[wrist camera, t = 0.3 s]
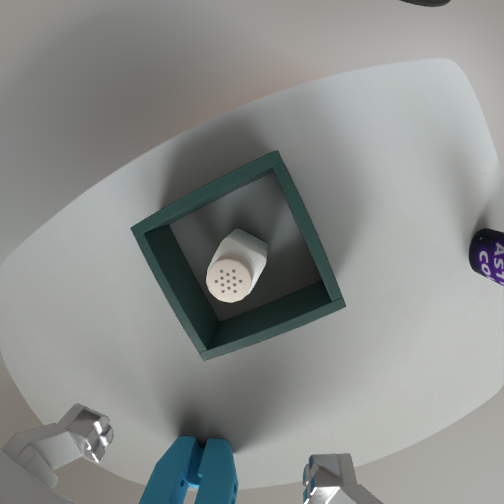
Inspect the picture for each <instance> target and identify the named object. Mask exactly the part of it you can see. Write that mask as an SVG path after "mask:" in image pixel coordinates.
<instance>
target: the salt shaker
mask: <svg viewBox="0 0 504 504" xmlns="http://www.w3.org/2000/svg"><path fill="white" fill-rule="evenodd" d="M267 254H268V245H267V244H266V243H265V242H263V241H261V240H259V239H258V238H256V237H254V236H252V235H250V234H248V233H246V232H244V231H242V230H241V229H235V230H233V231H232V232H231V233H230V234H229V235H228V236H227V237H225V238H224V239H223V240H222V241H221V243H220V245H219V247H218V249H217V251H216V253H215V255H214V257H213V259H212V261H211V263H210V265H209V267H208V269H207V278H206V283H207V286H208V288H209V291H210V293H212V294H213V295H214V296H215V297H216V298H217V299H218V300H221V301H225V302H229V303H231V302H235V301H239V300H242V299H243V298H244V297H245V296H246V295H248V294H249V293H250V292H251V290H252V289H253V287H254V285H255V284H256V282H257V280H258V278H259V276H260V275H261V273H262V271H263V269H264V267H265V265H266V261H267Z"/></svg>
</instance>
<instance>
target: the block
mask: <svg viewBox="0 0 504 504" xmlns="http://www.w3.org/2000/svg"><path fill="white" fill-rule="evenodd" d="M188 486H189V487H196V488H199V489H198V493H197V497H196V500H195V504H235V502H236V496H237V490H238V480H237V475H236V469H235V464H234V459H233V453H232V450H231V446H230V443H229V442H228V441H227V440H224V439H211V438H209V439H208V440H207V443H206V447H205V449H202V448H200V447H199V445H198V443H197V440H196V438H195V437H189V436H179V437H178V438H177V439H176V441H175V442H174V443H173V444H172V446H171V447H170V448H169V449H168V450H167V452H166V453H165V454H164V455H163V456H162V458H161V459H160V460H159V461H158V462H157V463H156V466H155V468H154V470H153V472H152V475H151V477H150V479H149V481H148V484H147V486H146V488H145V491H144V493H143V495H142V497H141V500H140V502H139V504H183V501H184V498H185V495H186V492H187V489H188Z"/></svg>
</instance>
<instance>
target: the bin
mask: <svg viewBox="0 0 504 504" xmlns="http://www.w3.org/2000/svg"><path fill="white" fill-rule="evenodd" d="M272 172H273V174H274V176H275V179H276V181H277V183H278V185H279V187H280V189H281V191H282V193H283V195H284V197H285V199H286V202H287V204H288V206H289V208H290V210H291V212H292V214H293V217H294V219H295V221H296V223H297V225H298V228H299V230H300V232H301V234H302V236H303V239H304V241H305V243H306V246H307V248H308V250H309V252H310V255H311V257H312V259H313V262H314V264H315V266H316V269H317V271H318V273H319V276H320V278H321V281H319V282H316V283H314V284H312V285H310V286H307V287H305V288H303V289H300V290H298V291H296V292H293V293H291V294H289V295H286V296H284V297H282V298H279V299H277V300H274V301H272V302H270V303H267V304H265V305H262V306H260V307H257V308H255V309H252V310H250V311H247V312H245V313H242V314H240V315H237V316H235V317H232V318H230V319H227V320H224V321H222V322H219V320H218V319H217V317H216V315H215V313H214V312H213V310H212V308H211V306H210V304H209V302H208V301H207V299H206V297H205V295H204V293H203V291H202V290H201V288H200V286H199V284H198V282H197V280H196V278H195V276H194V275H193V273H192V271H191V269H190V267H189V265H188V263H187V261H186V259H185V257H184V255H183V253H182V251H181V249H180V247H179V245H178V243H177V241H176V239H175V237H174V235H173V233H172V231H171V229H170V227H169V224H171V223H173V222H175V221H177V220H179V219H180V218H182V217H184V216H186V215H188V214H190V213H192V212H194V211H195V210H197V209H199V208H201V207H203V206H205V205H207V204H209V203H211V202H213V201H215V200H217V199H219V198H221V197H223V196H225V195H227V194H229V193H231V192H233V191H235V190H237V189H239V188H241V187H243V186H245V185H247V184H249V183H251V182H253V181H255V180H257V179H260V178H262V177H264V176H266V175H268V174H270V173H272ZM131 230H132V232H133V235H134V237H135V238H136V240H137V243H138V245H139V247H140V249H141V251H142V253H143V255H144V257H145V259H146V261H147V263H148V265H149V267H150V269H151V271H152V272H153V274H154V276H155V278H156V280H157V282H158V284H159V286H160V288H161V289H162V291H163V293H164V295H165V297H166V298H167V300H168V302H169V304H170V306H171V307H172V309H173V311H174V313H175V314H176V316H177V318H178V319H179V321H180V323H181V325H182V326H183V328H184V330H185V331H186V333H187V335H188V336H189V338H190V339H191V341H192V343H193V344H194V346H195V347H196V349H197V351H198V352H199V354H200V356H201V357H202V359H203V360H204V361H205V360H208V359H211V358H215V357H218V356H221V355H224V354H227V353H230V352H233V351H236V350H239V349H242V348H244V347H247V346H250V345H253V344H256V343H258V342H261V341H264V340H267V339H269V338H272V337H275V336H277V335H280V334H282V333H285V332H288V331H290V330H293V329H295V328H298V327H300V326H303V325H305V324H307V323H310V322H312V321H315V320H317V319H319V318H322V317H324V316H326V315H329V314H331V313H333V312H335V311H338V310H340V309H342V308H344V307H346V305H345V302H344V299H343V297H342V294H341V291H340V289H339V286H338V284H337V281H336V279H335V276H334V274H333V271H332V269H331V266H330V264H329V261H328V259H327V256H326V254H325V252H324V249H323V247H322V244H321V242H320V240H319V237H318V235H317V233H316V230H315V228H314V226H313V224H312V221H311V219H310V217H309V215H308V212H307V210H306V208H305V206H304V204H303V201H302V199H301V197H300V195H299V193H298V191H297V189H296V186H295V184H294V182H293V180H292V178H291V176H290V174H289V172H288V170H287V168H286V166H285V164H284V162H283V160H282V158H281V156H280V154H279V152H278V150H276V151H274V152H272V153H269V154H267V155H265V156H263V157H261V158H259V159H256V160H254V161H252V162H250V163H248V164H246V165H244V166H242V167H240V168H238V169H236V170H234V171H232V172H230V173H228V174H226V175H224V176H222V177H220V178H218V179H216V180H214V181H212V182H210V183H208V184H206V185H204V186H203V187H201V188H199V189H197V190H195V191H193V192H191V193H190V194H188V195H186V196H184V197H182V198H181V199H179V200H177V201H175V202H173V203H172V204H170V205H168V206H166V207H165V208H163V209H161V210H159V211H158V212H156V213H154V214H153V215H151V216H149V217H148V218H146V219H144V220H143V221H141V222H139V223H138V224H136V225H134V226H133V227H131Z"/></svg>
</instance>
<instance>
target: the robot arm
mask: <svg viewBox="0 0 504 504" xmlns="http://www.w3.org/2000/svg"><path fill="white" fill-rule="evenodd" d="M108 423H109V418H108V416H106V415H104V414H101V413H99V412H97V411H94V410H92V409H90V408H88V407H86V406H84V405H81V404H79V403H77V404H74V405H73V407H72V408H71V409H70V410H69V411H68V412H67V413H66V415H65V416H64V417H63V418H62V419H61V420H60V421H59V423H58V424H56V423H52V424H49V425H46V426H42V427H39V428H35V429H31V430H27V431H24V432H19V433H16V434H15V435H14V436H13V437H12V438H11V439H10V440H9V441H8V442H7V443H6V445H5V446H4V447H3V448H2V449H0V504H77V503H75V502H73V501H72V500H70V499H68V498H66V497H65V496H63V495H62V494H60V493H59V492H57V491H55V490H54V487H55V486H56V484H57V483H58V481H59V479H58V477H57V476H56V475H55V474H54V472H53V471H52V470H55V469H57V468H59V467H61V466H63V465H65V464H68V463H70V462H72V461H74V460H76V459H77V458H80V457H82V456H86V457H88V458H90V459H92V460H94V461H97V462H99V461H100V460H101V458H102V457H103V455H104V453H105V450H104V448H105V447H107V446H109V445H110V444H111V442H112V439H113V429H112V427H111V426H110V425H109V424H108ZM303 485H304V486H305V487H306V489H305V491H304V493H303V501H304V504H383V503H382V502H381V501H379V500H378V499H377V498H376V497H375V496H373V495H372V494H371V493H370V492H369V491H368V490H366V489H365V488H364V487H363V486H362V485H357V482H356V477H355V472H354V467H353V462H352V458H351V455H350V454H349V453H344V454H316V455H311V456H310V457H309V463H308V464H307V465H306V466H305V468H304V473H303Z"/></svg>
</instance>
